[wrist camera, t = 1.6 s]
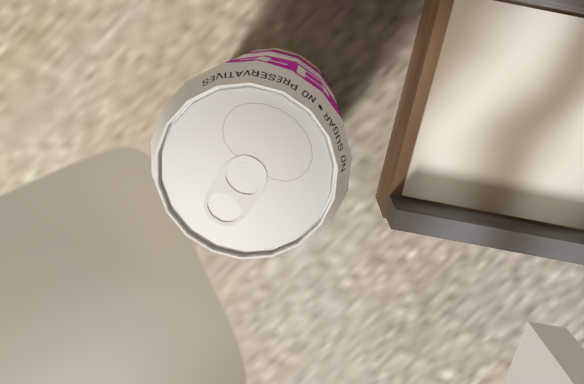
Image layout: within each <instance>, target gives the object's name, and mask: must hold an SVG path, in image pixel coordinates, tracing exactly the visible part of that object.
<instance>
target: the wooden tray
mask: <svg viewBox="0 0 584 384" xmlns="http://www.w3.org/2000/svg"><path fill="white" fill-rule="evenodd" d="M376 199H377V202H378V205H379V207H380V210H381V212H382V215H383V218H387V221H388V223H389V226H390V228H391V229H394V230H399V231H405V232H410V233H416V234H421V235H426V236H432V237H437V238H442V239H448V240H453V241H459V242H464V243H469V244H475V245H480V246H485V247H491V248H496V249H501V250H507V251H512V252H518V253H523V254H528V255H534V256H539V257H544V258H550V259H555V260H560V261H566V262H571V263H577V264H582V265H584V0H425V4H424V8H423V12H422V16H421V20H420V23H419V27H418V31H417V35H416V39H415V43H414V47H413V51H412V55H411V59H410V63H409V67H408V71H407V75H406V79H405V83H404V87H403V91H402V94H401V98H400V102H399V106H398V110H397V114H396V118H395V122H394V126H393V130H392V134H391V138H390V142H389V146H388V150H387V154H386V158H385V161H384V165H383V169H382V173H381V177H380V181H379V185H378V189H377V193H376Z"/></svg>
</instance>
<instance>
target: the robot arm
mask: <svg viewBox="0 0 584 384" xmlns="http://www.w3.org/2000/svg"><path fill="white" fill-rule="evenodd" d="M503 384H584V349H583V348H582V346H581V345H580V344H579V343H578V342H577V341H576V339H575V338H574V337H573V336H572V335H571V334H570V332H569V331H568V330H567V329H566V328H562V327H557V326H551V325H546V324H540V323H535V322H529V321H527V324H526V327H525V329H524V332H523V334H522V337H521V339H520V342H519V344H518V347H517V350H516V352H515V355H514V357H513V360H512V362H511V365H510V367H509V370H508V373H507V375H506V378H505V380H504V383H503Z"/></svg>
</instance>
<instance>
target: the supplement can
mask: <svg viewBox="0 0 584 384" xmlns="http://www.w3.org/2000/svg"><path fill="white" fill-rule="evenodd" d="M351 157H352V156H351V152H350V148H349V144H348V140H347V136H346V132H345V128H344V124H343V121H342V118H341V115H340V112H339V109H338V106H337V103H336V100H335V97H334V94H333V91H332V88H331V85H330V84H329V82H328V81H327V80H326V78H325V77H324V75H323V74H322V72H321V71H320V69H319V68H318V67H317V66H316V65H314V64H313V63H312V62H310V61H309V60H307V59H306V58H305V57H303V56H302V55H300V54H299V53H295V52H291V51H287V50H284V49H280V48H270V49H260V50H253V51H251V52H249V53H246V54H244V55H242V56H239V57H237V58H234V59H232V60H230V61H227V62H225V63H223V64H220V65H218V66H216V67H214V68H212V69H210V70H208V71H206V72H204V73H202V74H200V75H198V76H197V77H195V78H193V79H191V80H189V81H187V82H186V83H185V84H184V85H183V86H182V87H181V88H180V89H179V90H178V92H177V93H176V94H175V95H174V96H173V97H172V98H171V99H170V101H169V102H168V103H167V104H166V105H165V106H164V107H163V109H162V112H161V115H160V117H159V120H158V123H157V126H156V128H155V131H154V134H153V137H152V139H151V162H152V176H153V179H154V182H155V184H156V187H157V189H158V192H159V195H160V197H161V200H162V202H163V205H164V207H165V210H166V212H167V214H168V215H169V216H170V217H171V218H172V219H173V221H174V222H175V223H176V224H177V225H178V227H179V228H180V229H181V230H182V231H183V233H184V234H185V235H186V236H187V237H189V238H190V239H192V240H193V241H195V242H197V243H198V244H200V245H202V246H203V247H205V248H206V249H208V250H210V251H211V252H214V253H218V254H222V255H226V256H230V257H234V258H238V259H253V258H266V257H273V256H276V255H278V254H281V253H283V252H285V251H288V250H290V249H292V248H295V247H297V246H299V245H302V244H304V243H306V242H309V241H310V240H311V239H312V238H313V237H314V236H315V235H316V234H317V233H318V232H320V231H321V230H322V229H323V228H324V227H325V226H326V225H327V224H328V223H329V222H330V221H332V220H333V218H334V216H335V214H336V212H337V210H338V208H339V206H340V204H341V202H342V200H343V198H344V196H345V194H346V192H347V191H348V183H349V175H350V166H351Z"/></svg>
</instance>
